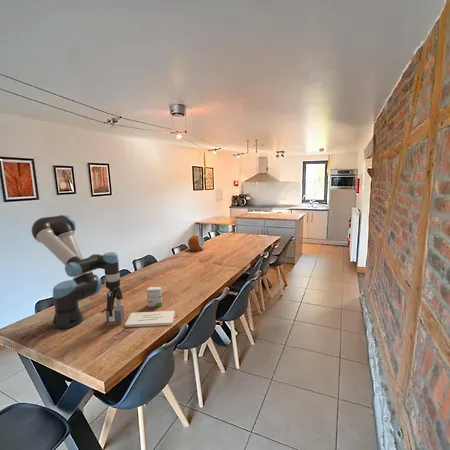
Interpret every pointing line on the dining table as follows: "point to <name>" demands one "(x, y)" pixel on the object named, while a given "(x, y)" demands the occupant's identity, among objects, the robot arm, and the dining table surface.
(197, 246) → the alarm clock
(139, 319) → the board
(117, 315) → the block
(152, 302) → the ink box
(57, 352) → the dining table surface
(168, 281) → the dining table surface
